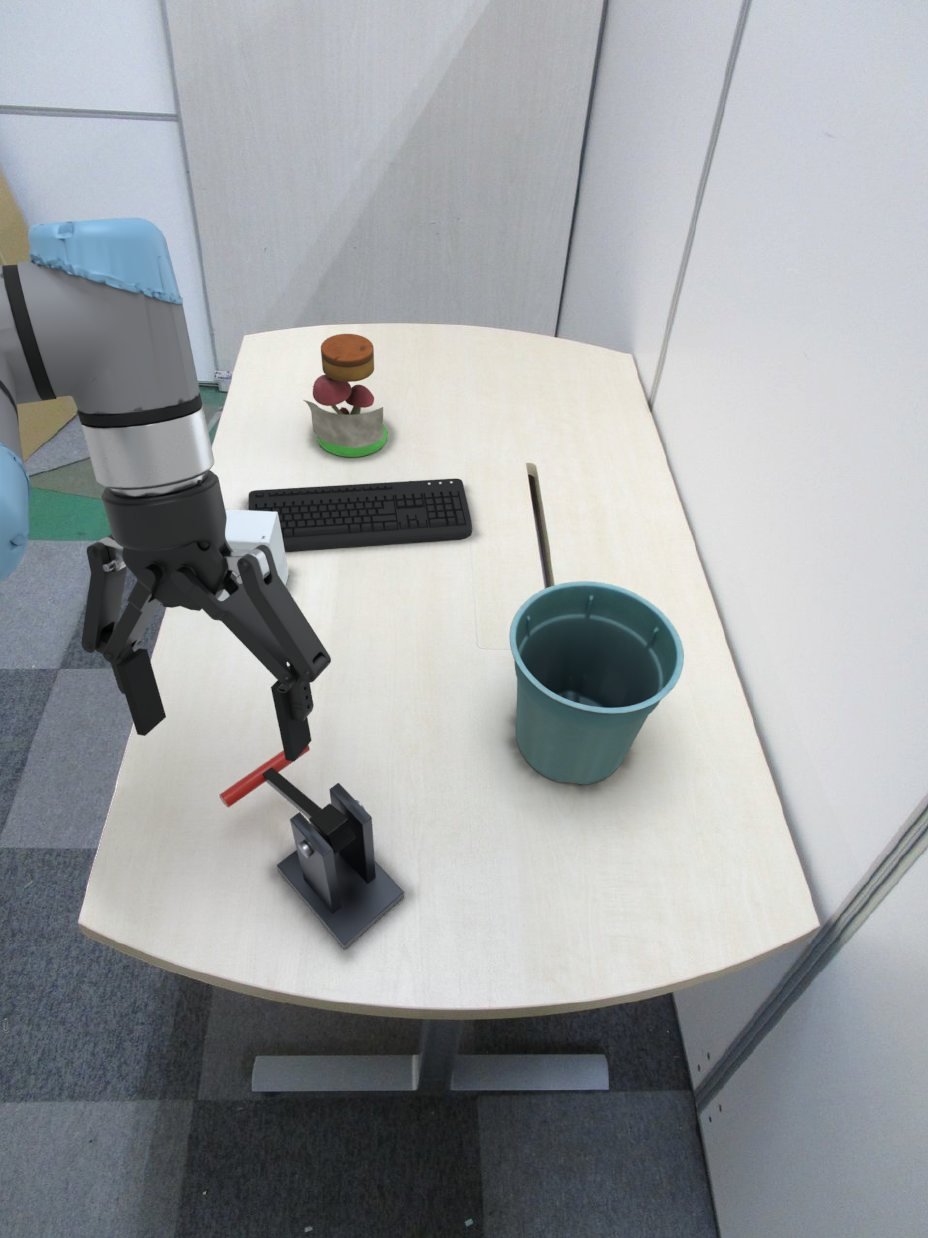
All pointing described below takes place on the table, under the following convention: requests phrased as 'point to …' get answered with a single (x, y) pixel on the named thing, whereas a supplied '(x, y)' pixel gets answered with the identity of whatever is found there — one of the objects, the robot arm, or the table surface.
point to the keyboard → (367, 513)
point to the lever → (294, 801)
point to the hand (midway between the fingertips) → (223, 738)
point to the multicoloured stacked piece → (346, 398)
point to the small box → (256, 537)
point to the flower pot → (588, 676)
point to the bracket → (340, 873)
